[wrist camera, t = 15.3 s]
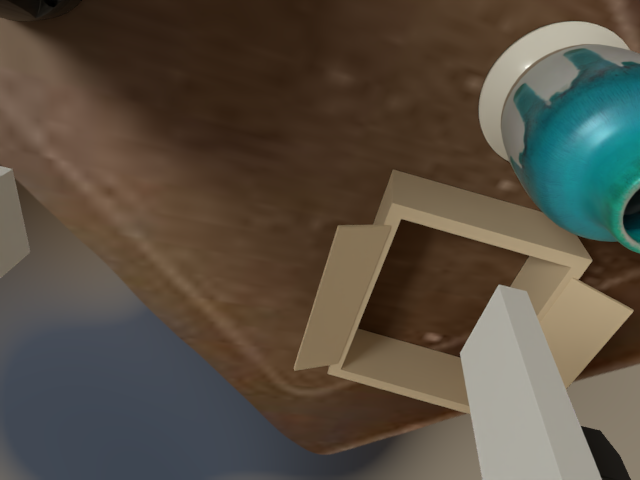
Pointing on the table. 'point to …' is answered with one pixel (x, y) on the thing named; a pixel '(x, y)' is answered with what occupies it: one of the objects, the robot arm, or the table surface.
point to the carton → (471, 222)
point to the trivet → (521, 58)
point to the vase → (580, 140)
